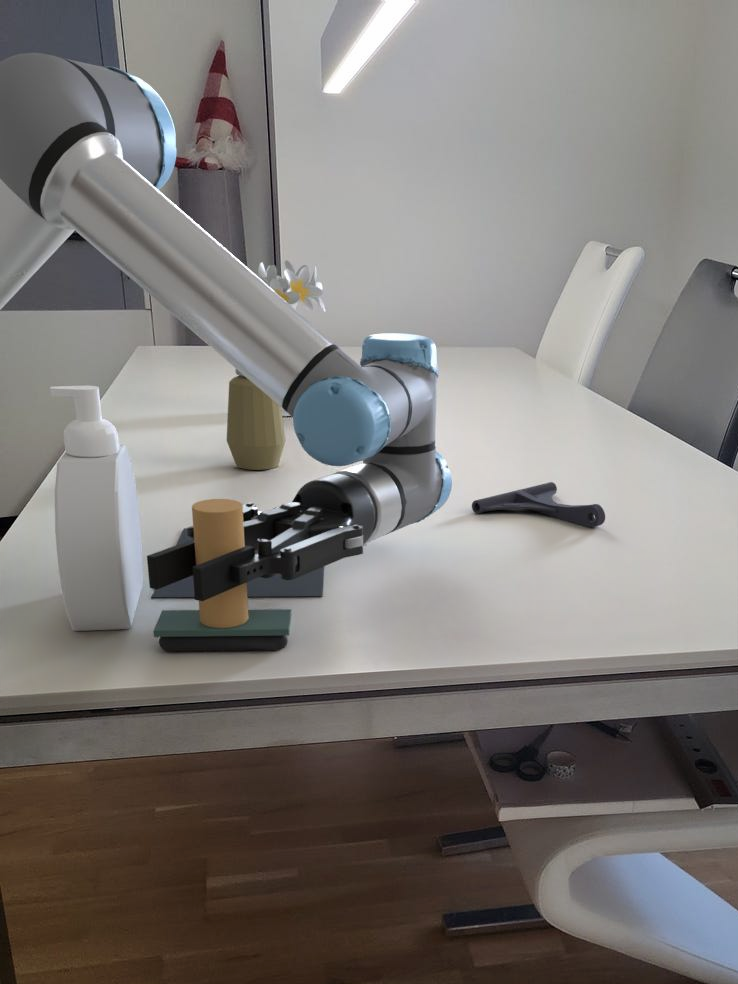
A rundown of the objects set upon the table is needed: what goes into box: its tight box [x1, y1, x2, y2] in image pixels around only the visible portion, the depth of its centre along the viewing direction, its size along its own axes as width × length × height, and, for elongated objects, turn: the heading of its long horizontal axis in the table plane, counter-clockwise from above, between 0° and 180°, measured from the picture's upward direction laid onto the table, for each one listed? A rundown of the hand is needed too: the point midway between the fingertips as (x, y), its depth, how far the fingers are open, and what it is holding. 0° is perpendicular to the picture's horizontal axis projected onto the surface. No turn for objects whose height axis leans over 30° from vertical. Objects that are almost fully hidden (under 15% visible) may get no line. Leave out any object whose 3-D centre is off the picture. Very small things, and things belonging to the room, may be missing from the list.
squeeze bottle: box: [226, 367, 287, 471], centre depth 142 cm, size 8×8×18 cm
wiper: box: [153, 498, 293, 652], centre depth 86 cm, size 11×5×12 cm, turn 97°
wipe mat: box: [151, 527, 325, 599], centre depth 109 cm, size 16×22×1 cm
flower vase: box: [257, 259, 327, 417], centre depth 176 cm, size 13×18×25 cm
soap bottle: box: [49, 385, 144, 632], centre depth 91 cm, size 16×5×20 cm, turn 12°
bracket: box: [471, 481, 606, 528], centre depth 128 cm, size 14×15×3 cm
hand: (174, 578), depth 81 cm, fingers closed on wiper, 4 cm apart
